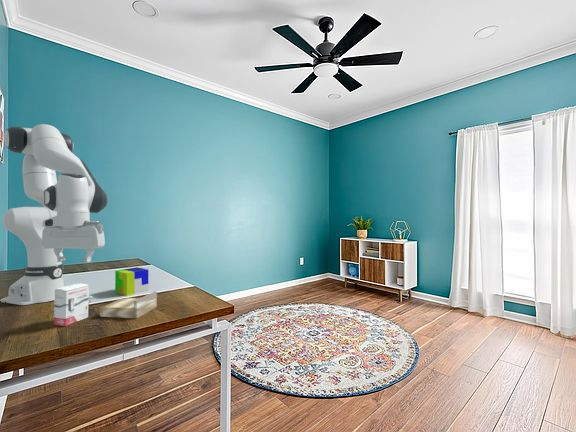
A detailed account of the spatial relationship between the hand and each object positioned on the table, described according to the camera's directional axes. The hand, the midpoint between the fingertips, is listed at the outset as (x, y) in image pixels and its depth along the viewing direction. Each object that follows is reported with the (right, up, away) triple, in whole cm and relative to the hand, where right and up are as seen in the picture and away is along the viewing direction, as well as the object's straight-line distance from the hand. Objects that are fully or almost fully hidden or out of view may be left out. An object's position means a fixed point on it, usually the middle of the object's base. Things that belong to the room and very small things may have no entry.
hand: (74, 261), depth 95 cm
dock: (+14, -20, +9) cm, 26 cm away
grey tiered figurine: (-7, -20, +14) cm, 25 cm away
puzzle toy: (0, -20, +36) cm, 41 cm away
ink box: (-1, -20, 0) cm, 20 cm away
